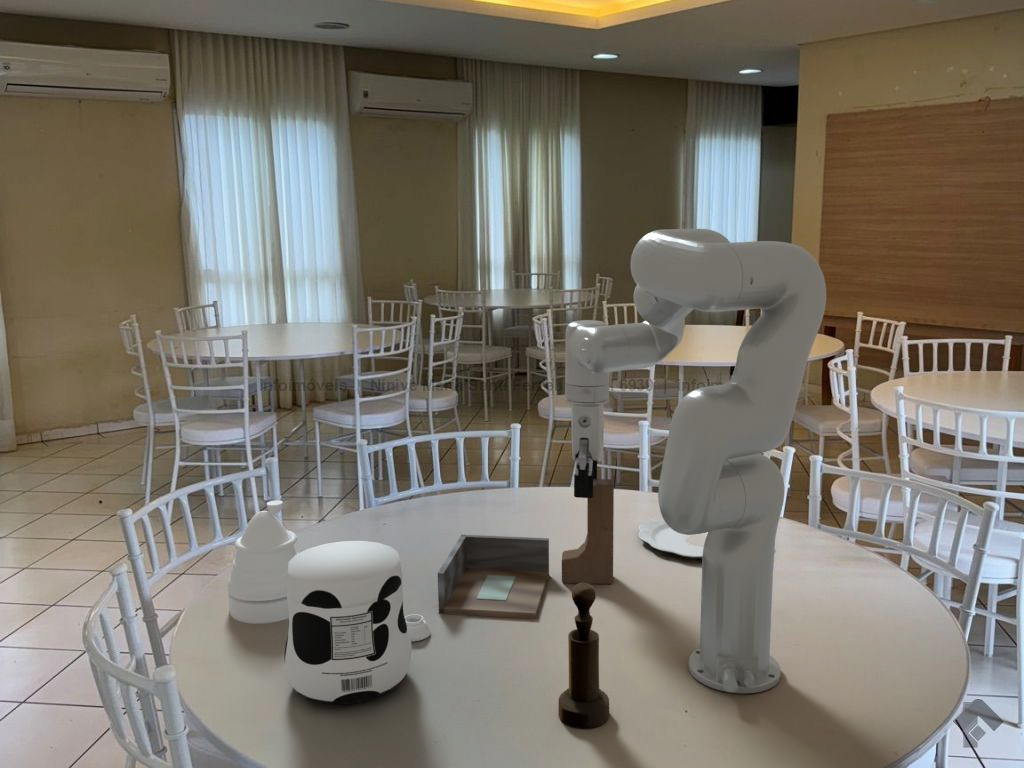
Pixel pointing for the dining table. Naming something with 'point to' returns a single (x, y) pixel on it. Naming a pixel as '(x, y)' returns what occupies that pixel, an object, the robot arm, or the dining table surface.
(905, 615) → the dining table surface
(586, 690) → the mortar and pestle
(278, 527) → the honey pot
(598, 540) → the wooden block
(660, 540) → the plate
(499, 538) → the tray
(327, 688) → the milk container
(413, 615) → the lidless jar
